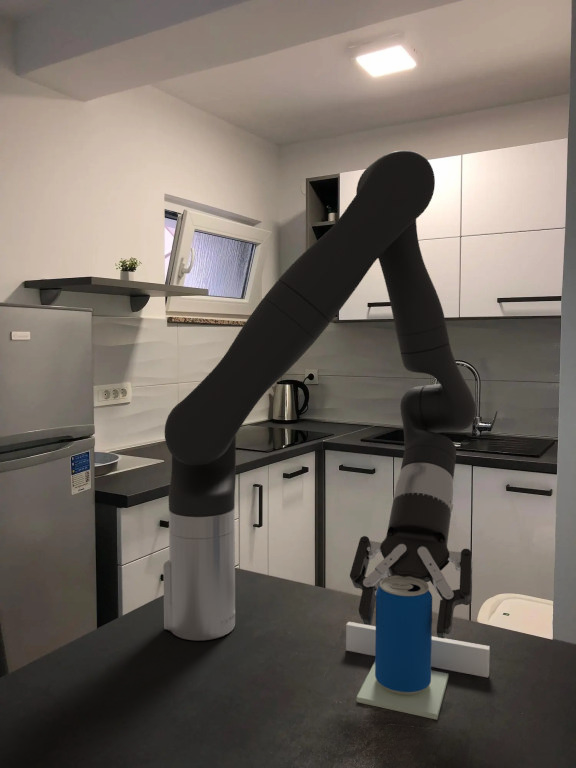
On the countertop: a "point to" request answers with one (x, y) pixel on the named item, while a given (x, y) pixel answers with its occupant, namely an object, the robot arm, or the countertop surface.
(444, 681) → the mat
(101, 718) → the countertop surface
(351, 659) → the countertop surface
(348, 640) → the low wall
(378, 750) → the countertop surface
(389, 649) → the beverage can
